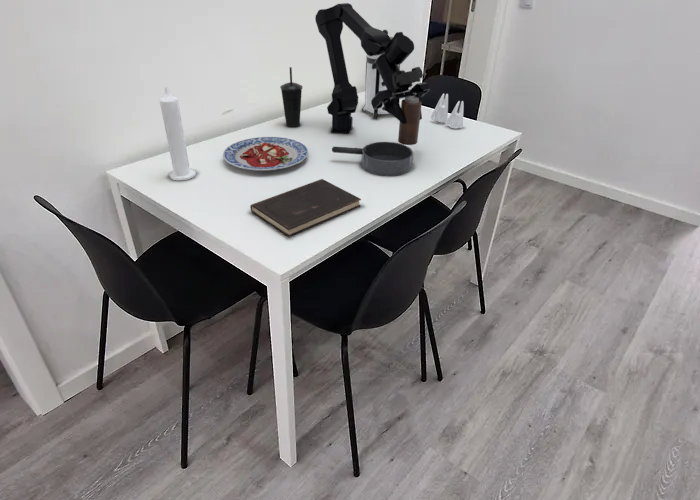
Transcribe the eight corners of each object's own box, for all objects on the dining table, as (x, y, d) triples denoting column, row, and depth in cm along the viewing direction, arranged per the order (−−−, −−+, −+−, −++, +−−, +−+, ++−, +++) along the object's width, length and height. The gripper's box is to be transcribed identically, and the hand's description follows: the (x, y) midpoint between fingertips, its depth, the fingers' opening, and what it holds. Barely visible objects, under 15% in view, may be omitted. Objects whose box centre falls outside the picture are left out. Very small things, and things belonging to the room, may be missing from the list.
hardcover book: (360, 206, 125) (361, 198, 124) (289, 237, 112) (288, 229, 111) (320, 185, 135) (320, 178, 134) (250, 211, 122) (249, 203, 121)
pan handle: (331, 153, 147) (331, 147, 146) (332, 150, 148) (332, 145, 147) (366, 155, 146) (367, 150, 145) (367, 153, 147) (367, 147, 146)
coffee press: (405, 110, 192) (412, 28, 175) (391, 122, 180) (398, 35, 163) (365, 103, 198) (368, 23, 181) (349, 115, 185) (350, 30, 169)
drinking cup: (307, 123, 177) (305, 66, 166) (298, 129, 171) (296, 71, 160) (287, 120, 179) (285, 63, 168) (278, 126, 173) (275, 68, 162)
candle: (172, 182, 134) (153, 91, 121) (167, 172, 140) (149, 84, 126) (198, 178, 137) (183, 88, 123) (192, 168, 142) (177, 81, 129)
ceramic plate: (206, 158, 149) (205, 149, 147) (272, 137, 165) (271, 128, 163) (259, 184, 134) (258, 174, 133) (325, 158, 150) (325, 149, 149)
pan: (358, 173, 142) (359, 159, 140) (364, 153, 155) (365, 140, 152) (410, 177, 140) (412, 163, 138) (412, 157, 153) (413, 143, 151)
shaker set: (429, 122, 181) (432, 92, 174) (435, 119, 183) (439, 90, 177) (457, 130, 174) (461, 99, 168) (463, 127, 177) (467, 97, 170)
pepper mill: (395, 142, 145) (398, 99, 137) (402, 136, 149) (406, 94, 142) (413, 146, 143) (418, 102, 135) (420, 140, 147) (424, 97, 140)
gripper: (380, 61, 130) (404, 113, 130) (429, 53, 140) (452, 101, 139) (360, 84, 140) (383, 132, 139) (408, 75, 150) (429, 120, 149)
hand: (412, 121), depth 141 cm, fingers closed on pepper mill, 6 cm apart
